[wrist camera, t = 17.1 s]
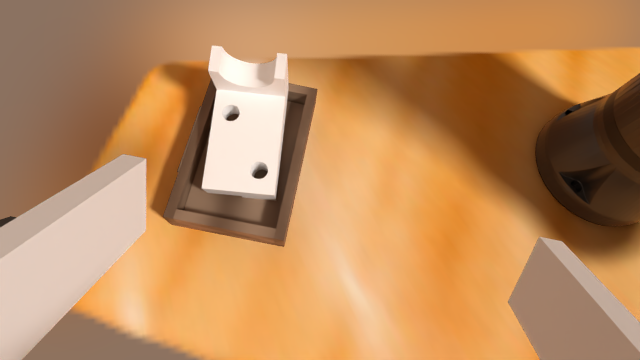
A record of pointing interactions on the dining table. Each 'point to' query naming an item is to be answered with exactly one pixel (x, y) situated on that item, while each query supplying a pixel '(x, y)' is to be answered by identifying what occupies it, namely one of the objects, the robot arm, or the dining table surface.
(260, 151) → the bracket
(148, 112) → the dining table surface
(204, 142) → the walnut tray
